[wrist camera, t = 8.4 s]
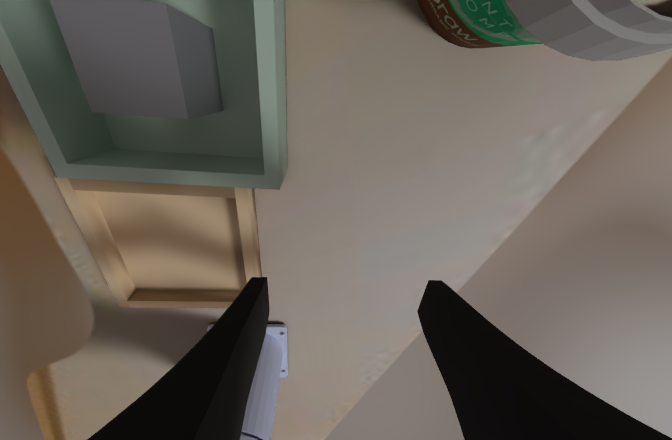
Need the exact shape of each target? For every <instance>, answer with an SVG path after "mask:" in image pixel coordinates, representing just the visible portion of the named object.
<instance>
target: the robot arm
mask: <svg viewBox="0 0 672 440" xmlns="http://www.w3.org/2000/svg"><path fill="white" fill-rule="evenodd" d="M417 312H418V315H419V319H420V322H421V326H422V329H423V332H424V335H425V337H426V340H427V342H428V345H429V347H430V349H431V352H432V354H433V356H434V359H435V361H436V363H437V366H438V368H439V370H440V372H441V375H442V377H443V379H444V382H445V384H446V386H447V389H448V391H449V394H450V396H451V399H452V402H453V405H454V408H455V411H456V414H457V417H458V420H459V423H460V426H461V429H462V432H463V436H464V438H465V440H672V438H670V437H668V436H666V435H664V434H662V433H660V432H658V431H657V430H655V429H653V428H651V427H649V426H647V425H645V424H643V423H642V422H640V421H638V420H636V419H634V418H632V417H631V416H629V415H627V414H625V413H624V412H622V411H620V410H618V409H617V408H615V407H613V406H612V405H610V404H608V403H606V402H604V401H603V400H601V399H599V398H598V397H596V396H594V395H593V394H591V393H589V392H588V391H586V390H584V389H583V388H581V387H580V386H578V385H577V384H575V383H574V382H572V381H570V380H569V379H567V378H565V377H564V376H562V375H561V374H559V373H557V372H556V371H555V370H553V369H552V368H550V367H549V366H547V365H546V364H544V363H543V362H542V361H540V360H539V359H537V358H536V357H535V356H533V355H531V354H530V353H529V352H528V351H526V350H525V349H523V348H522V347H521V346H519V345H518V344H517V343H515V342H514V341H513V340H511V339H510V338H509V337H508V336H506V335H505V334H504V333H503V332H501V331H500V330H499V329H498V328H496V327H495V326H494V325H493V324H491V323H490V322H489V321H488V320H486V319H485V318H484V317H483V316H482V315H481V314H480V313H478V312H477V311H476V310H475V309H474V308H473V307H471V306H470V305H469V304H468V303H467V302H466V301H465V300H463V299H462V298H461V297H460V296H459V295H458V294H457V293H456V292H454V291H453V290H452V289H451V288H450V287H449V286H447V285H446V284H445V283H444V282H443V281H435V280H429V281H428V284H427V286H426V289H425V292H424V295H423V297H422V300H421V303H420V306H419V309H418V311H417ZM268 317H269V297H268V284H267V277H252V278H251V279H250V280H249V281H248V282H247V284H246V285H245V287H244V288H243V289H242V291H241V292H240V294H239V295H238V296H237V297H236V299H235V300H234V301H233V303H232V304H231V305H230V306H229V308H228V309H227V310H226V311H225V312H224V314H223V315H222V316H221V317H220V318H219V320H218V321H217V322H216V323H215V324H210V325H209V326H208V327H207V333H206V334H205V335H204V336H203V338H202V339H201V340H200V341H199V342H198V343H197V344H196V345H195V346H194V347H193V348H192V349H191V350H190V351H189V352H188V353H187V354H186V355H185V356H184V357H183V358H182V359H181V360H180V361H179V362H178V363H177V364H176V365H175V366H174V367H173V368H172V369H171V370H170V371H168V372H167V373H166V374H165V375H164V376H163V377H162V378H161V379H160V380H159V381H157V382H156V383H155V384H154V385H153V386H152V387H151V388H150V389H149V390H147V391H146V392H145V393H144V394H143V395H142V396H140V397H139V398H138V399H137V400H136V401H135V402H133V403H132V404H131V405H130V406H128V407H127V408H126V409H125V410H124V411H122V412H121V413H120V414H119V415H117V416H116V417H115V418H114V419H113V420H111V421H110V422H109V423H108V424H106V425H105V426H104V427H103V428H102V429H100V430H99V431H98V432H97V433H95V434H94V435H93V436H91V437H90V438H89V439H88V440H272V432H273V425H274V417H275V410H276V402H277V395H278V387H279V380H280V378H284V377H287V375H288V356H287V326H286V325H284V324H267V323H268Z"/></svg>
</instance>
